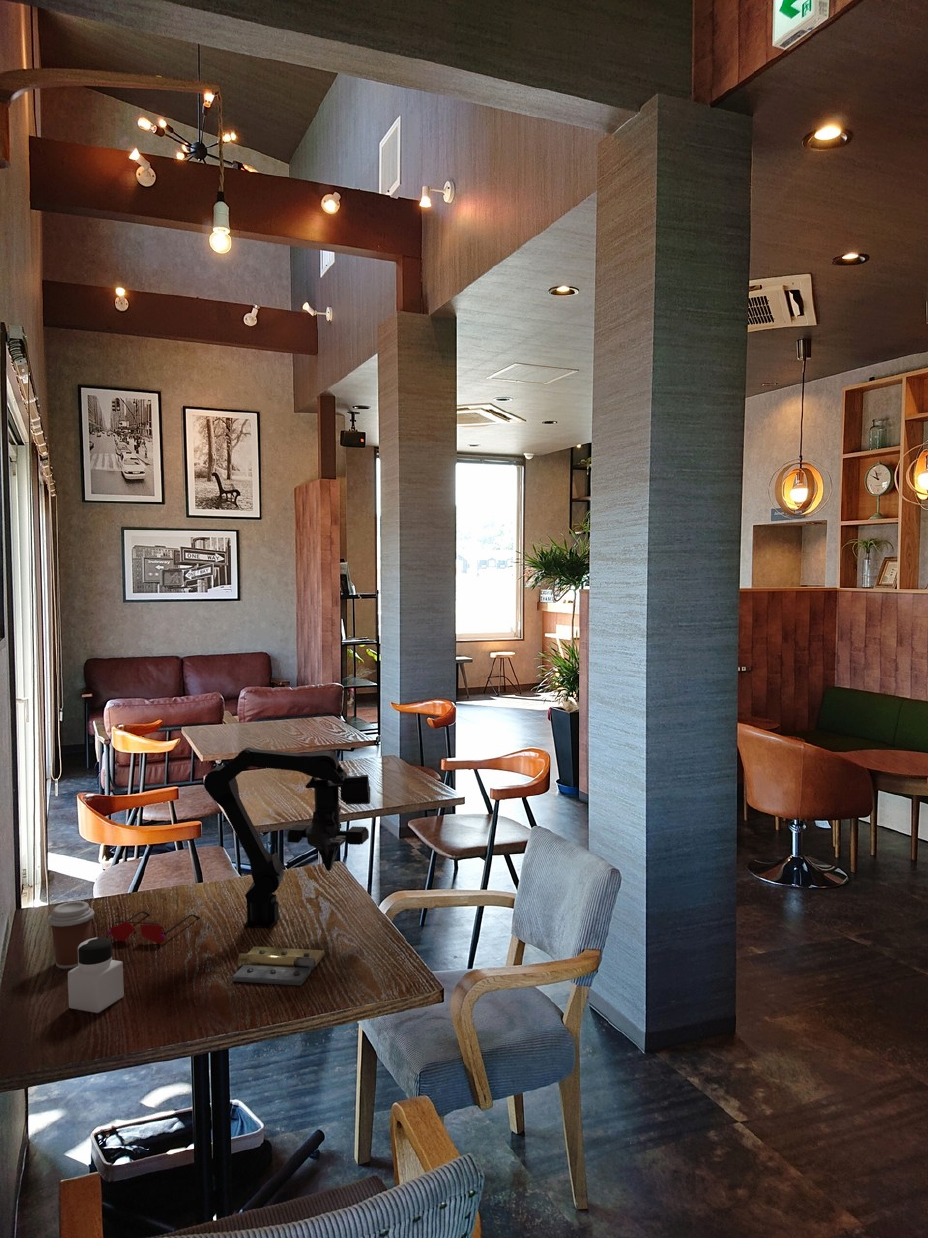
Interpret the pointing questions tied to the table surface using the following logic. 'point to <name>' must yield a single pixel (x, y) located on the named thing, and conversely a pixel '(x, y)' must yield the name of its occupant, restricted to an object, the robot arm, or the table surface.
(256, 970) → the steel leaf
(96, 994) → the medicine bottle
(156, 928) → the glasses
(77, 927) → the coffee cup
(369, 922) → the table surface
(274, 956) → the brass leaf
